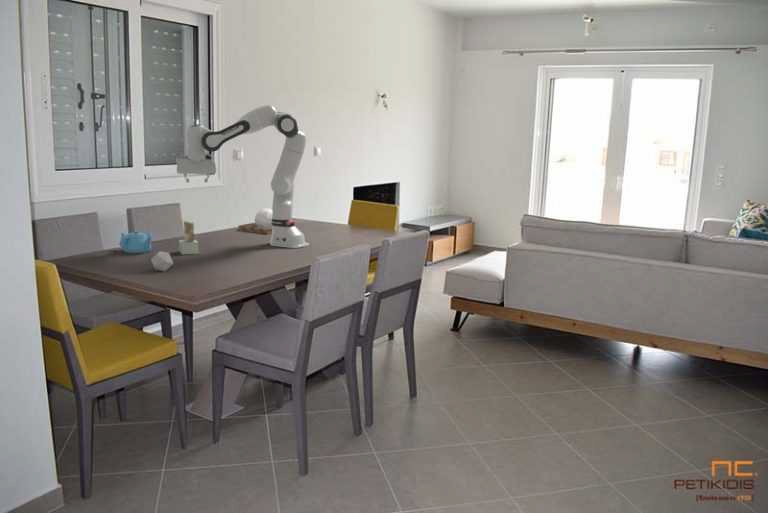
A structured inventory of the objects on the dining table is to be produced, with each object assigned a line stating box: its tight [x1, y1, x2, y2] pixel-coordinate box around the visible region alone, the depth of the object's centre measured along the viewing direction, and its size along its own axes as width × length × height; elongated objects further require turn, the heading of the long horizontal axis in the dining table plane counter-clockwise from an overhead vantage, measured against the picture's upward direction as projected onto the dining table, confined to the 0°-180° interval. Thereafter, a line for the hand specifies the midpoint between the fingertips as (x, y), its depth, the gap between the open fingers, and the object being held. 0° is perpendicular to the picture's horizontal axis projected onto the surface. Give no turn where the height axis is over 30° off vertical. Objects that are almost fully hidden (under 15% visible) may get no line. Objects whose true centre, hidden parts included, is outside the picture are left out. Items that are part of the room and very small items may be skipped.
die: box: [150, 251, 174, 272], centre depth 290 cm, size 8×9×10 cm
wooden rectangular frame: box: [237, 222, 272, 235], centre depth 406 cm, size 24×24×3 cm
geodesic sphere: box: [254, 207, 272, 229], centre depth 406 cm, size 15×14×14 cm
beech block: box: [183, 220, 195, 242], centre depth 328 cm, size 4×4×10 cm
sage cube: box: [178, 239, 200, 255], centre depth 330 cm, size 8×8×6 cm
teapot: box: [119, 229, 153, 255], centre depth 328 cm, size 15×15×11 cm
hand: (196, 182), depth 344 cm, fingers open, 8 cm apart
